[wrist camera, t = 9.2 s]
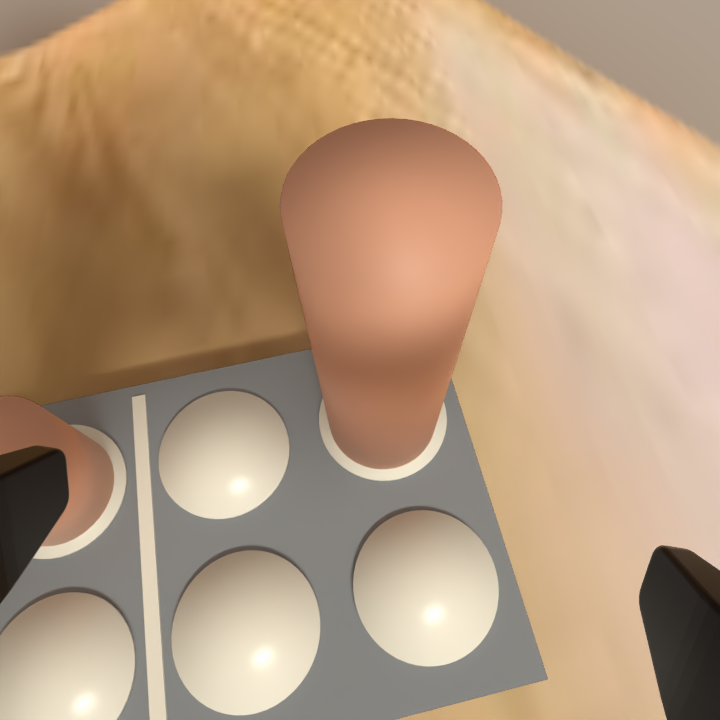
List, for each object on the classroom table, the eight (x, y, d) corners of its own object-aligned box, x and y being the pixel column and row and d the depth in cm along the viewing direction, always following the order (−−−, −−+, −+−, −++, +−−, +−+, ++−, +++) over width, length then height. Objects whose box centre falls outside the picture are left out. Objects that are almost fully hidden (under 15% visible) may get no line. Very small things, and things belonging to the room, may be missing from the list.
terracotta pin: (455, 438, 21) (547, 234, 10) (359, 489, 20) (341, 331, 9) (402, 351, 22) (429, 92, 11) (311, 396, 21) (245, 165, 11)
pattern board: (535, 675, 19) (596, 695, 14) (-216, 871, 17) (-471, 981, 12) (430, 339, 24) (445, 264, 19) (-148, 462, 22) (-304, 415, 17)
